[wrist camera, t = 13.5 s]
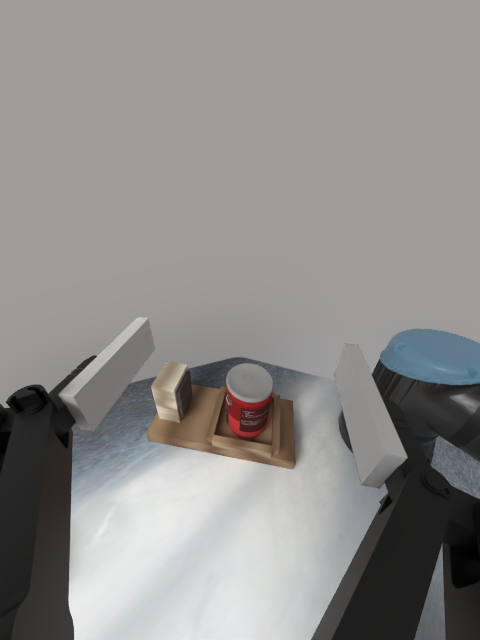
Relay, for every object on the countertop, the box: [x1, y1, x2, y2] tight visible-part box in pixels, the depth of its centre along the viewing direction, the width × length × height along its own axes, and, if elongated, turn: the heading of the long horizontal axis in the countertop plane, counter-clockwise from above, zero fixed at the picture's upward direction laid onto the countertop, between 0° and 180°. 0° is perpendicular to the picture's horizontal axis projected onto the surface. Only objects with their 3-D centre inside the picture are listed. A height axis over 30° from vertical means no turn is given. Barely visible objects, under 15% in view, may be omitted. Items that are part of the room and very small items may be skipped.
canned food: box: [226, 363, 273, 438], centre depth 39 cm, size 8×8×11 cm
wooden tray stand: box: [146, 362, 295, 469], centre depth 41 cm, size 26×12×12 cm, turn 81°
